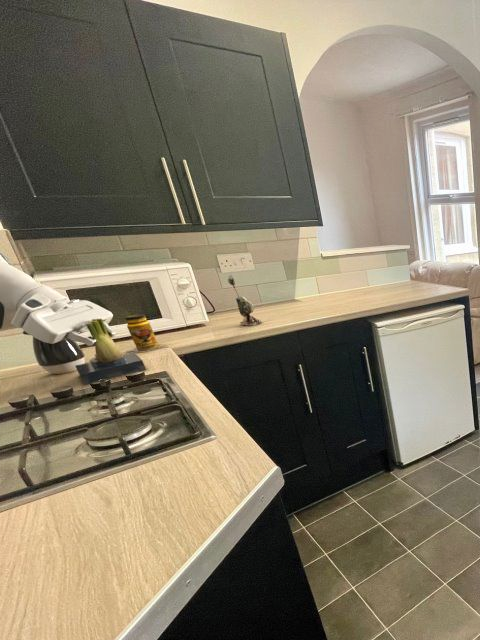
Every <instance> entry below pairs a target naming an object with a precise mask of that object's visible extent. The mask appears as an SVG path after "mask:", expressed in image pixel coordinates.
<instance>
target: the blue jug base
mask: <svg viewBox="0 0 480 640" xmlns="http://www.w3.org/2000/svg"><path fill="white" fill-rule="evenodd" d="M122 355H123V357H122V358H121V359H120V360H118V361H115V362H109V363H102V362H101V361H100V360H96V358H95V357H93V358H91V359H89V362H86V363H85V362H84V364H81V365H76V366H75V367H76V369H77V370H76V371H77V373H78V375H79V377H80V379H81V381H82V383H83V385H84V386H86V385H91V384H94V383H93V382H95V383H98V382H97V381H99V380H100V379H107V380H110V379H114V378H118V377H122V376H127V375H130V374H134V373H139V372H143V371H147V368H146V365H145V363H144V361H143V360H142V359H141V357H140V356H138V354H136V353H135V352H130V353H126V354H122ZM99 382H100V381H99Z"/></svg>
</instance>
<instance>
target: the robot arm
mask: <svg viewBox="0 0 480 640" xmlns="http://www.w3.org/2000/svg"><path fill="white" fill-rule="evenodd" d="M113 317H114V314H113V313H112V311H110V310H108V309H106V308H105V307H103V306H100V305H98V304H97V303H94V302H91V301H90V300H86V299H83V300H82V299H78V298H73V299H71V300H70V299H69V298H68V297H66V296H64V294H62V293H60V292H58V291H56V290H55V289H53V288H51V287H50V286H48V285H46V284H43V283H40V282H38V281H36V280H35V279H34V278H33V277H32V276H31V275H29V274H27V273H26V272H24V271H23V270H20V269H19V268H17V267H16V266H15V265H14V264H13V262H12V261H10V259H9V258H8V257H7V256H6V255H5V254H4V253H3V252H2V251H1V250H0V332H4V331H9V330H14V329H22V330H23V331H25V332H26V333H28V334H30V335H29V336H30V337H32V338H33V337H35V338H37V339H39V340H41V341H43V342H45V343H51V344H53V343H56V342H59V341H62V340H64V339H67V338H69V339H70V340H72V341H75V342H76V343H81V344H85V345H86V346H88V347H92V346H95V343H96V342H97V340H96V339H93V337H92V335H90V336H86V335H83V333H86V332H90V331H89V329H88V328H87V326H86V323H92V322H91V321H92V319H100V318H101V319H102V320H103V323H104V325H105V328H106V330H107V332H108V334H109V336H110V337H111V339H112V338H115V337H116V335H117V332H116V331H115V330H113V329H111V326H110V325H109V324H110V322H112V319H113Z"/></svg>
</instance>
